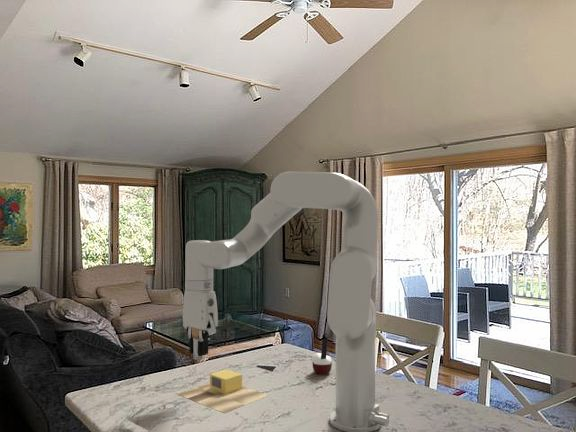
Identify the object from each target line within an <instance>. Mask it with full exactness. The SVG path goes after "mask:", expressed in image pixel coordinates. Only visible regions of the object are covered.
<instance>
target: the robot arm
mask: <svg viewBox="0 0 576 432" xmlns="http://www.w3.org/2000/svg"><path fill="white" fill-rule="evenodd" d="M304 208H305V209H323V210H334V211H335V210H336V211H341V212H342V214H343V226H342V238H341V239H342V240H341V248H340V249H341V250H340V252H339V253H338V254H337V255H336V256H335V257H334V259H333V261H332V262H331V266H330V271H329V280H328V281H329V282H328V297H327V298H328V299H327V309H326V310H327V314H326V316H327V322H328V323H327V324H328V326H329V328H330V330H331V331H332V333H333V334H334V335H335V410H333V411H332V412H331V413H330V414H329V418H328V419H329V420H328V421H329V423H330V425H331V426H332V427H334V428H335V429H337V430H340V431H343V432H374V431H377V430H378V429H380V428H381V427H386V428H388V426H389V424H390V415H389V414H387V413H384V412H381V411H380V404H377V403H376V332H377V331H376V330H377V329H376V328H377V308H376V305H375V303H374V300H373V299H372V298H371V297H372V283H373V280H374V279H375V278H376V277H375V276H376V275H377V271H378V270H377V269H378V268H377V267H378V266H377V265H378V263H377V262H378V261H377V260H378V243H379V241H378V238H379V237H378V236H379V235H378V234H379V211H378V205H377V202H376V199H375V197H374V196H373V195H372V193H371V191H370V190H369V189H368V188H366V186H365V185H363V184H362V183H360V182H359V181H357V180H354V179H353V178H351V177H350V176H348V175H344V173H343V174H342V173H339V172H330V171H329V172H327V171H326V172H325V171H322V172H320V171H315V172H314V171H291V170H289V171H284V172H281V173H279V174H278V175H277V176H275V178H274V179H273V180H272V182H271V184H270V192H269V193H268V194H266V196H265V197H264V198H262V199H261V200H259V202H258V203H257V204H255V205H254V206H253V208H252V209H251V212H250V216H251V217H250V220H249V222H247V225H246V226H245V227H244V228H243V229H242V230H241V231H239V232H238V233H237V234H236V235H235V236H234V237H233V238H231V239H222V240H213V241H211V240H207V239H202V240H201V239H198V240H197V239H196V240H195V239H194V240H192V239H191V240H189V241H187V242H186V243H185V252H184V253H185V260H184V261H185V263H184V264H185V265H184V266H185V271H184V272H185V273H184V274H185V279H184V280H185V282H184V287H185V288H184V294H183V300H182V301H183V302H182V327H183V328H184V329H185V330H186V333H187V337H188V339H189V340H188V341H189V348H188V349H189V350H188V351H189V352H188V353H189V354H192V355H193V337H192V327H193V328H196V329H199V340H200V341H198V356H203V355H204V356H205V355H206V356H207V355H208V354H209V340H210V339H211V336H212V335H214V334H216V333H217V329H216V328H217V327H218V324H219V317H218V316H219V313H218V302H217V296H216V291H214V286H215V285H214V269H215V270H225V269H230V268H232V267H238V266H241V265H243V264H244V263H245V262H246V261H248V260H249V259H250V258H251V257H253V256H254V255H255V254H256V253H257V252H258V251H259V250H261V249H262V248H263V247H264V246H265V245H266V243H267V242H268V241H269V240H270V239H271V238H272V237H273V235H274V234H275V233H276V232H277V231H278V230H279V229H281V228H282V226H284V225H285V224H286V223H287V222H288V221H290V220H291V219H292V218H293V217H294V216H295V215H297V214H298V213H299V212H301V210H303V209H304ZM203 331H205V333H204V334H203Z"/></svg>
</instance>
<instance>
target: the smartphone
mask: <svg viewBox="0 0 576 432" xmlns="http://www.w3.org/2000/svg"><path fill="white" fill-rule="evenodd" d="M255 368H259V369H262V370H266V371H269V372H273V373H274V372H275V371H276V370H277V369H278V368H279V365H277V364H265V363H258V364H257V365H256V366H255Z"/></svg>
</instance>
